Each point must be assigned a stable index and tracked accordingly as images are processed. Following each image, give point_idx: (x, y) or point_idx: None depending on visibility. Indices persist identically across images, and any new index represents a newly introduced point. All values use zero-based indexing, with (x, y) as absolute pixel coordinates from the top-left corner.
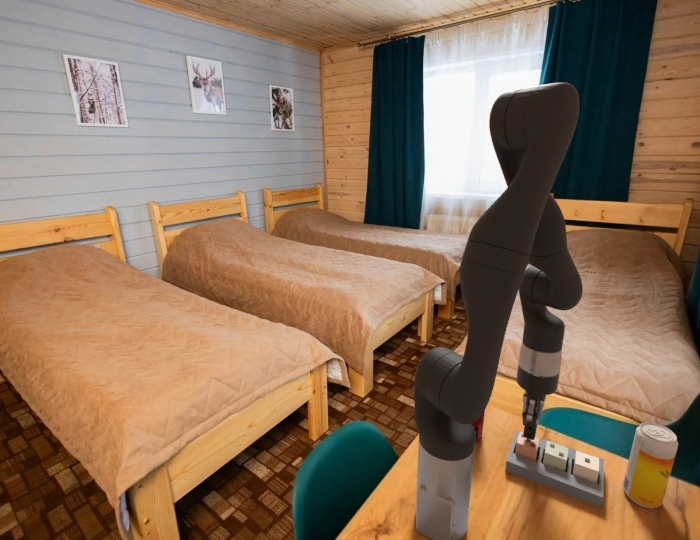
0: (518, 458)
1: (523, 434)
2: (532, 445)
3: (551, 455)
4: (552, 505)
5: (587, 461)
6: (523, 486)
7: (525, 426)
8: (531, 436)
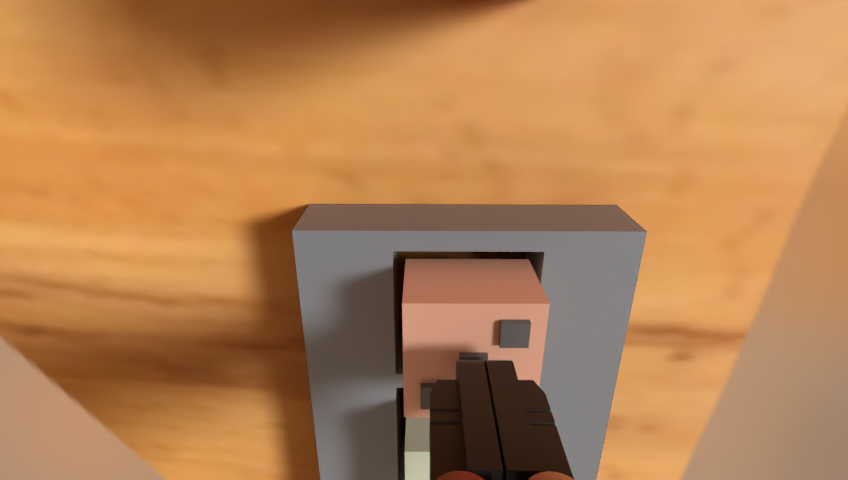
0: (360, 287)
1: (458, 367)
2: (423, 396)
3: (405, 477)
4: (236, 405)
5: None
6: (260, 298)
7: (463, 438)
8: (429, 437)
